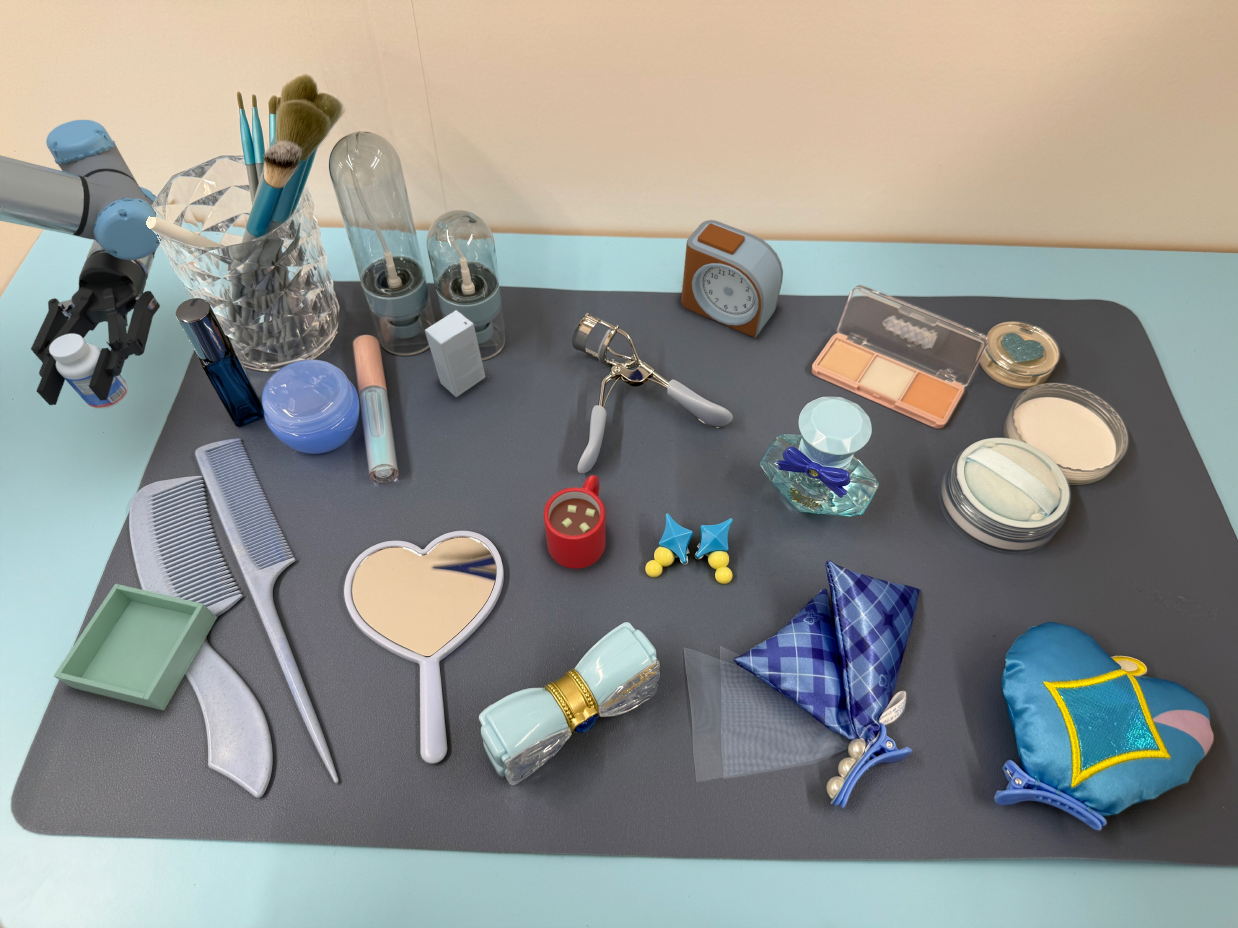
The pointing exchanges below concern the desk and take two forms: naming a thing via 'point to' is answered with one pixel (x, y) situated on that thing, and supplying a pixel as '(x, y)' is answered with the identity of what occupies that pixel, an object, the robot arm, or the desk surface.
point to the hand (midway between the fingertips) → (72, 395)
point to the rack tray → (137, 646)
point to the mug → (576, 525)
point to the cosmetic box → (455, 353)
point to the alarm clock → (731, 277)
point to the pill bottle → (84, 369)
